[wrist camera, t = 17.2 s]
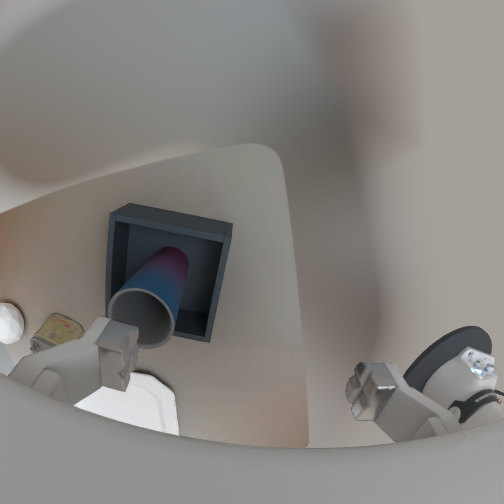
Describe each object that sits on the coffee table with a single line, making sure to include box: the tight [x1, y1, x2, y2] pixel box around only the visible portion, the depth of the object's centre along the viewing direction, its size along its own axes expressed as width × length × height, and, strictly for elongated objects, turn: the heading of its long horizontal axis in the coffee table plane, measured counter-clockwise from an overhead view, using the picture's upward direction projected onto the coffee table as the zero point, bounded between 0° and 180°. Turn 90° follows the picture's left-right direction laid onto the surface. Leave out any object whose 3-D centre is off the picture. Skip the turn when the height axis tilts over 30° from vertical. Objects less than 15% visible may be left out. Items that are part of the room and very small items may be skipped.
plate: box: [74, 372, 180, 436], centre depth 50 cm, size 25×25×2 cm
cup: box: [108, 246, 189, 349], centre depth 34 cm, size 7×7×15 cm
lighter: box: [30, 313, 84, 353], centre depth 40 cm, size 7×4×10 cm, turn 69°
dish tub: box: [106, 203, 233, 343], centre depth 39 cm, size 15×15×7 cm
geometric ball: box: [0, 303, 24, 344], centre depth 40 cm, size 8×8×8 cm
